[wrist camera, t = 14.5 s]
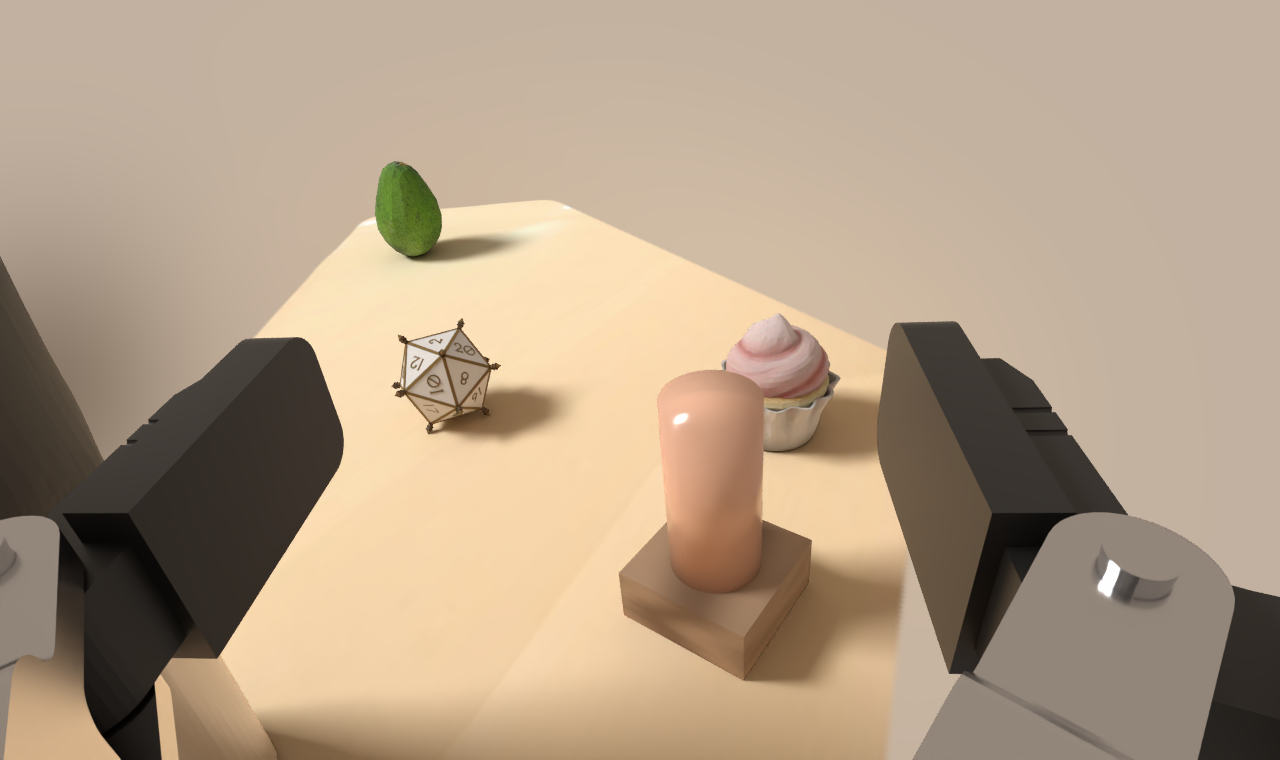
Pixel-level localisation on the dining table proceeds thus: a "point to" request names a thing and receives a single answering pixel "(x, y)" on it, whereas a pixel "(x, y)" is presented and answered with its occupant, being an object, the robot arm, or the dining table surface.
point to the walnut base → (718, 600)
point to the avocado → (407, 210)
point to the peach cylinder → (713, 478)
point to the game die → (444, 375)
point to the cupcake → (785, 379)
